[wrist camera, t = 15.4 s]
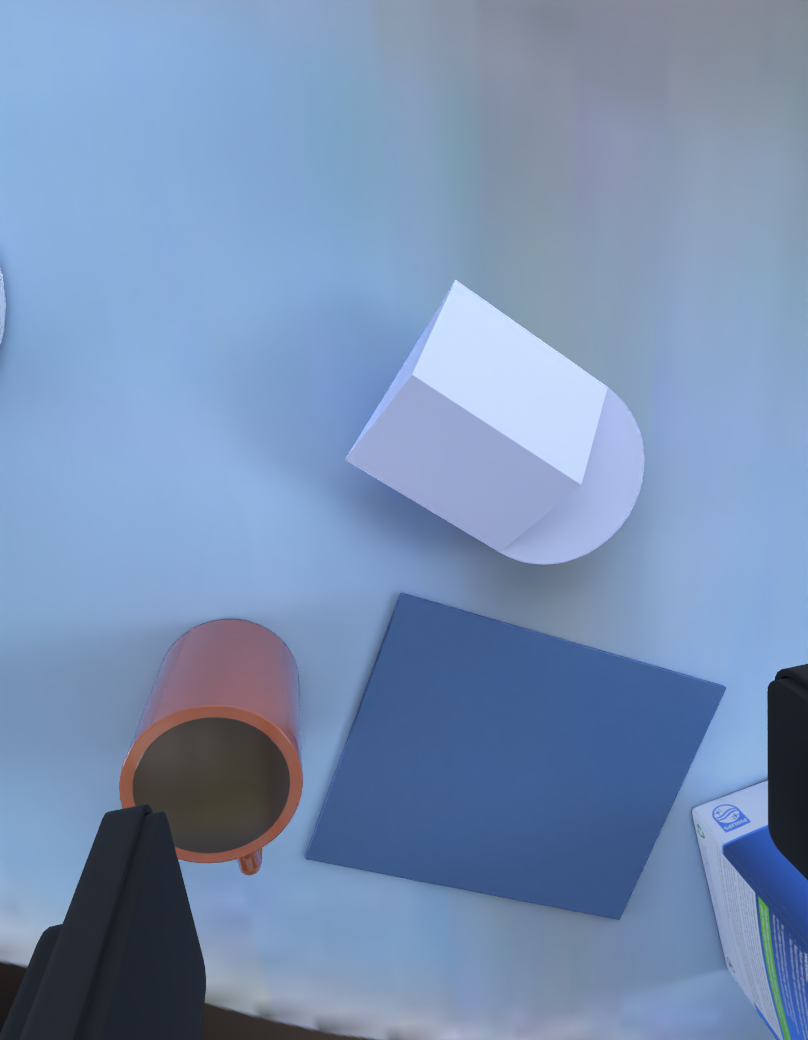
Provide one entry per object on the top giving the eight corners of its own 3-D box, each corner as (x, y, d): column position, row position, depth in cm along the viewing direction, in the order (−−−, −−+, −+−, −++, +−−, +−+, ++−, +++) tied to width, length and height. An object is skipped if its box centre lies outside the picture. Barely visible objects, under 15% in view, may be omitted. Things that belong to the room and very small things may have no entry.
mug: (141, 636, 36) (95, 730, 27) (282, 604, 36) (281, 686, 28) (192, 804, 38) (164, 939, 30) (322, 771, 39) (333, 893, 30)
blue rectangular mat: (305, 855, 40) (305, 859, 40) (400, 592, 37) (401, 594, 37) (617, 916, 45) (619, 920, 44) (723, 685, 42) (726, 687, 41)
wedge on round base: (339, 448, 35) (549, 575, 38) (351, 473, 29) (602, 622, 32) (439, 285, 34) (646, 430, 37) (475, 272, 28) (721, 448, 31)
